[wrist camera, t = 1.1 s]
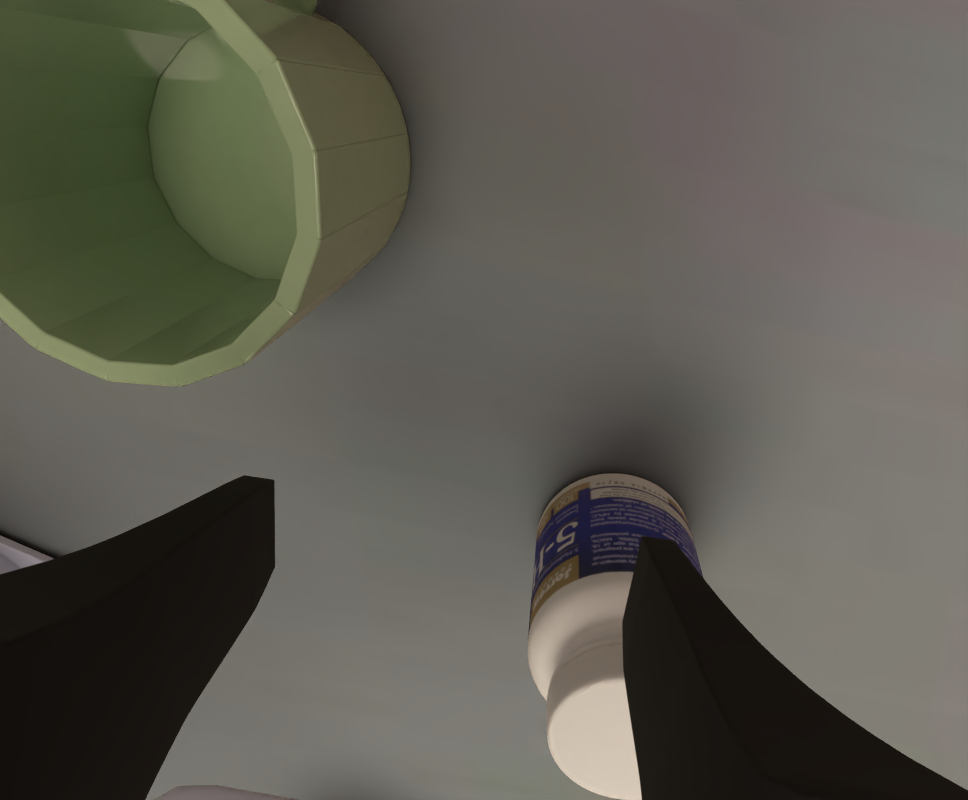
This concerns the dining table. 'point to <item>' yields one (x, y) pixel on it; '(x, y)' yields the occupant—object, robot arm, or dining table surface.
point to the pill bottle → (593, 620)
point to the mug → (185, 178)
